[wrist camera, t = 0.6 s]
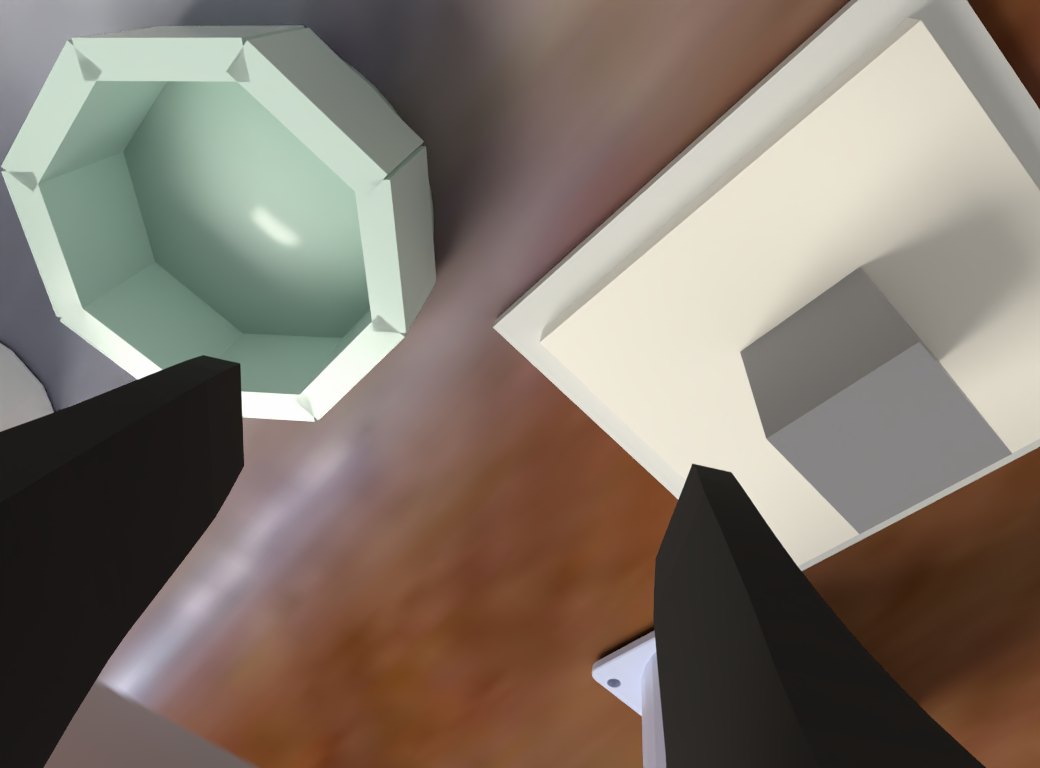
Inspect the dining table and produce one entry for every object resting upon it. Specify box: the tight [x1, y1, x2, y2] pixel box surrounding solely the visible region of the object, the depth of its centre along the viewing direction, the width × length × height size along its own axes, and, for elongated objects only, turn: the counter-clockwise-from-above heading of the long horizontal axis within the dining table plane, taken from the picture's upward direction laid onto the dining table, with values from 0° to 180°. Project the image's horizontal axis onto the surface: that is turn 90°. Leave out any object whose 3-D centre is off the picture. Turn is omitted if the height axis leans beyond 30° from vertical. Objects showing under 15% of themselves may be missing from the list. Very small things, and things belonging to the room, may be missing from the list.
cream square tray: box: [493, 0, 1040, 571], centre depth 19 cm, size 13×13×1 cm
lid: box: [540, 18, 1040, 566], centre depth 17 cm, size 11×11×5 cm
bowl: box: [1, 25, 436, 422], centre depth 18 cm, size 9×9×4 cm
